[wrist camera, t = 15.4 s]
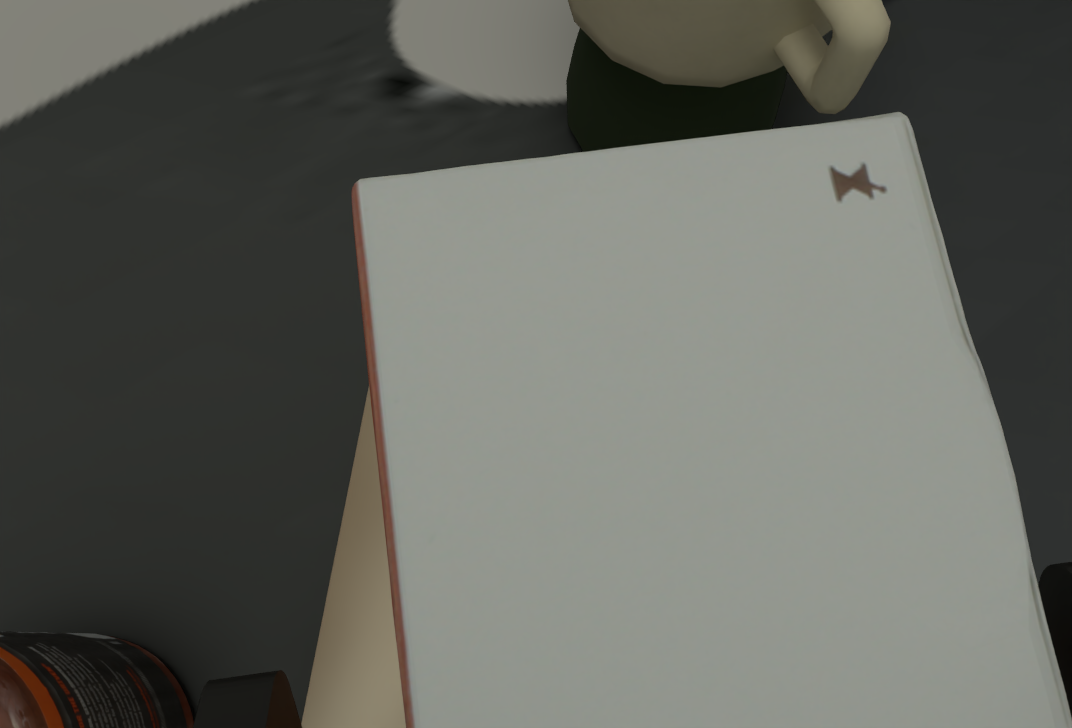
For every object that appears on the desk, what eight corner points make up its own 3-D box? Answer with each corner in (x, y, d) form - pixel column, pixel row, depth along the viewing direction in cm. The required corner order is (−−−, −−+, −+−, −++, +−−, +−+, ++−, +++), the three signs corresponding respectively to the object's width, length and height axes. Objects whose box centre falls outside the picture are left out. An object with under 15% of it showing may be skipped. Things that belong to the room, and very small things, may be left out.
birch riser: (332, 770, 26) (286, 796, 21) (409, 363, 29) (385, 305, 24) (759, 838, 26) (810, 881, 21) (792, 418, 29) (845, 371, 24)
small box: (429, 423, 23) (340, 158, 11) (700, 387, 24) (923, 91, 11) (473, 800, 21) (428, 1028, 8) (771, 754, 21) (1146, 904, 9)
